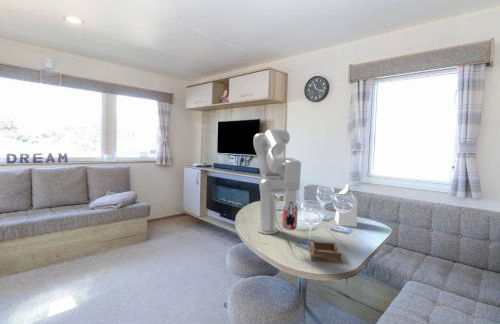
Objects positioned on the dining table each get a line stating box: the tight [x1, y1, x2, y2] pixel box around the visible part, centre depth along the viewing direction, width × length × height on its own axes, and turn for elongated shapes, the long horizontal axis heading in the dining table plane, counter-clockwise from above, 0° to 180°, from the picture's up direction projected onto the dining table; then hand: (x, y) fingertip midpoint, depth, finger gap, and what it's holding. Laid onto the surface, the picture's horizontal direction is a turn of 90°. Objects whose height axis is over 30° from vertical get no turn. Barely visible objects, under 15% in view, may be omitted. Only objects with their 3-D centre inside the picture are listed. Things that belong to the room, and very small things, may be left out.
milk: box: [334, 184, 358, 228], centre depth 173 cm, size 12×12×26 cm
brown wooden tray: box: [308, 240, 344, 264], centre depth 124 cm, size 14×14×4 cm
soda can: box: [281, 204, 299, 231], centre depth 125 cm, size 7×7×12 cm
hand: (289, 221), depth 126 cm, fingers closed on soda can, 7 cm apart
